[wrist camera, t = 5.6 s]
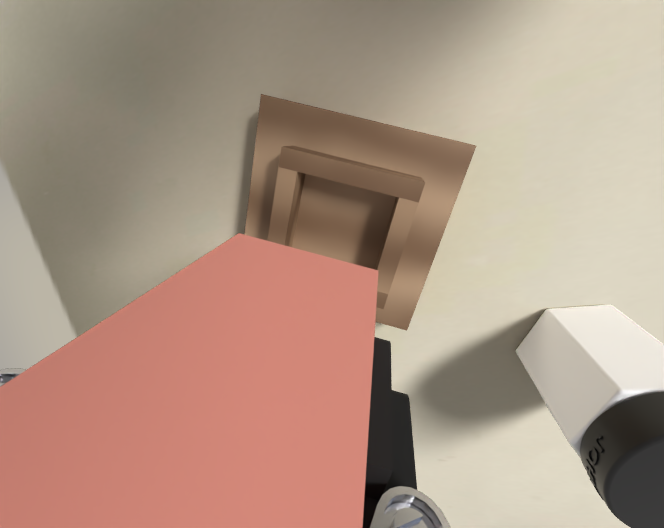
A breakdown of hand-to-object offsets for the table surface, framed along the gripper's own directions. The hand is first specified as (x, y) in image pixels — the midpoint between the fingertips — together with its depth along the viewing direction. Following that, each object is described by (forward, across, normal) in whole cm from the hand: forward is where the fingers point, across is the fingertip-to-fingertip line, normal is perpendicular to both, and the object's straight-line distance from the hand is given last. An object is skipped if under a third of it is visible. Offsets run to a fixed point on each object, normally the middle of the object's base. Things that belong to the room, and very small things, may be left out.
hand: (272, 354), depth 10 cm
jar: (+18, -21, +6) cm, 28 cm away
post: (+3, 0, 0) cm, 3 cm away
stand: (+18, 0, 0) cm, 18 cm away
